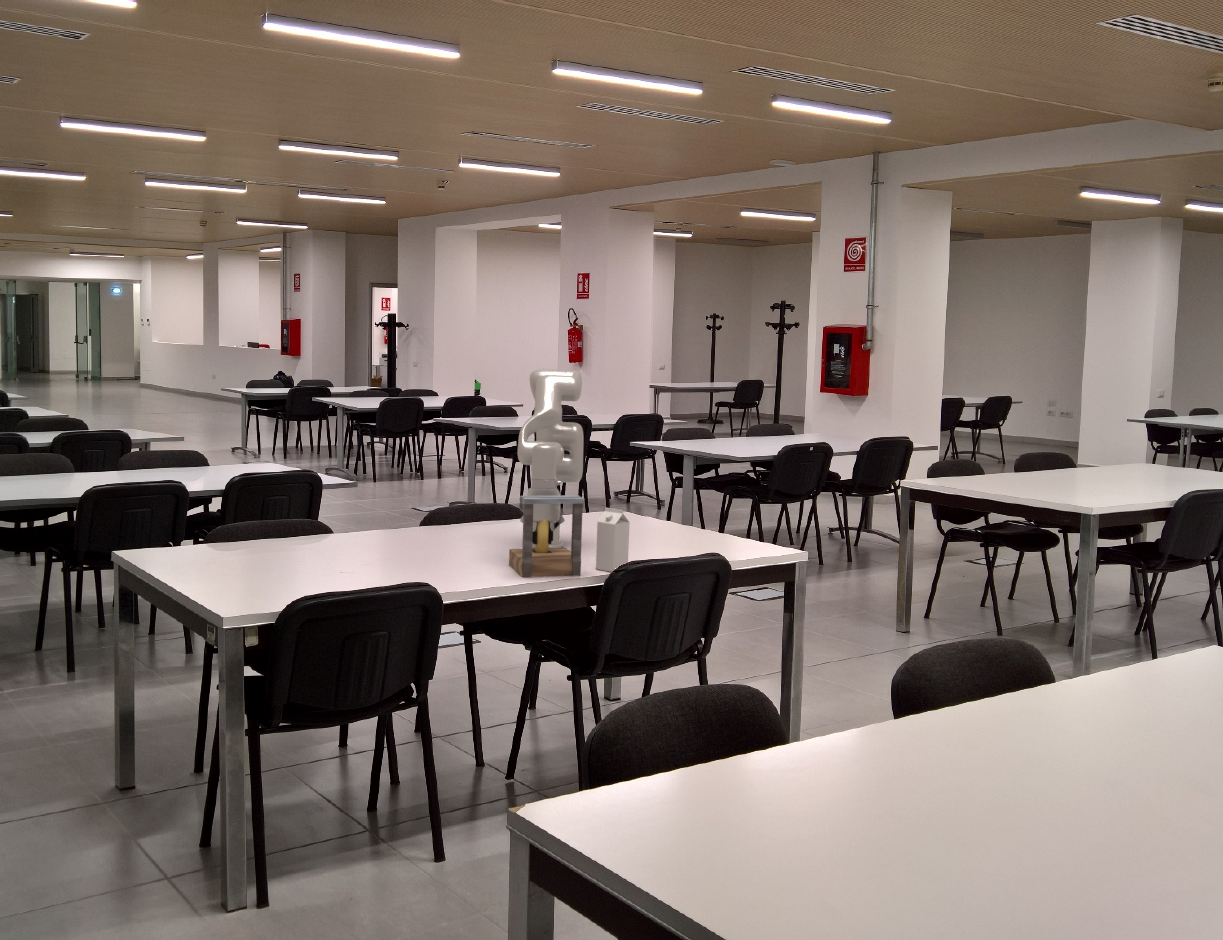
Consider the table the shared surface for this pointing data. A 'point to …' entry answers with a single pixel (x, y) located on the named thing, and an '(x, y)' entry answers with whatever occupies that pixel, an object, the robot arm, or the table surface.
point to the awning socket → (556, 558)
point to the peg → (542, 536)
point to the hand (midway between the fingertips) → (541, 542)
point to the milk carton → (612, 540)
